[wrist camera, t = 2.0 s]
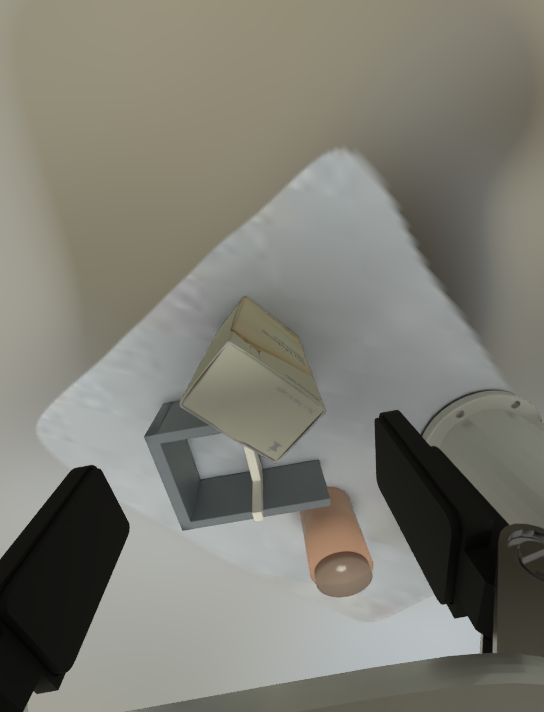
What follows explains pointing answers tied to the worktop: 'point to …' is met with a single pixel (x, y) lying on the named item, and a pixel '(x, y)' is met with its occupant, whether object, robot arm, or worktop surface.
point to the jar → (336, 547)
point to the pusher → (256, 483)
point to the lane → (224, 477)
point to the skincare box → (255, 384)
